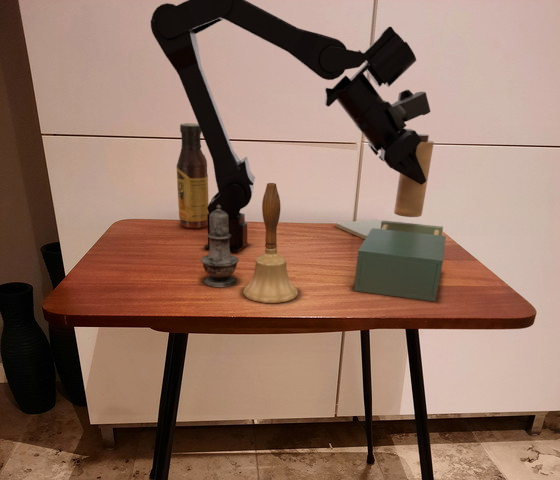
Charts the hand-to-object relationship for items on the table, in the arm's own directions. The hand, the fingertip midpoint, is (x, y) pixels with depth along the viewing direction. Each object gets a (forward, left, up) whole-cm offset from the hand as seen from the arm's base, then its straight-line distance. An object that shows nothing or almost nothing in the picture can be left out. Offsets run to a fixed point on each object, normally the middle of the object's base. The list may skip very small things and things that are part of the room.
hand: (420, 180), depth 97 cm
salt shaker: (-27, -28, -14) cm, 41 cm away
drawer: (0, -4, -13) cm, 13 cm away
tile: (-9, +14, -13) cm, 22 cm away
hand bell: (-18, -30, -14) cm, 38 cm away
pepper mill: (-1, 0, -6) cm, 6 cm away
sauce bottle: (-45, +2, -14) cm, 47 cm away
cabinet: (0, -17, -13) cm, 21 cm away
